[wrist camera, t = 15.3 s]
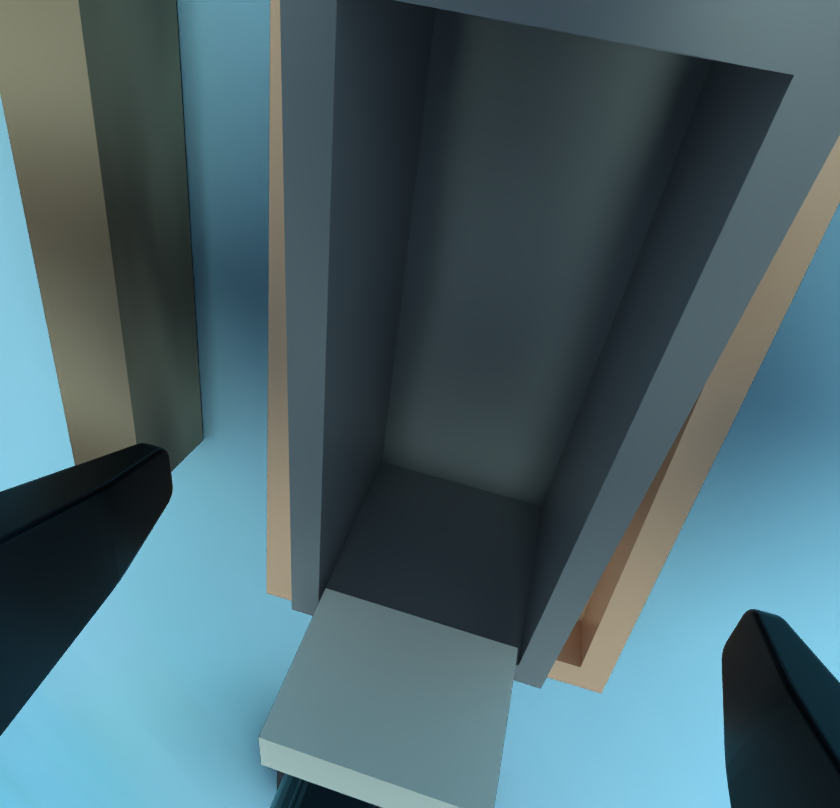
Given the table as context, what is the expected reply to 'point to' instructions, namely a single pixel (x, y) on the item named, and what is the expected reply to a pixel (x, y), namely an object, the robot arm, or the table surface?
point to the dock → (107, 214)
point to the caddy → (504, 333)
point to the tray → (675, 480)
